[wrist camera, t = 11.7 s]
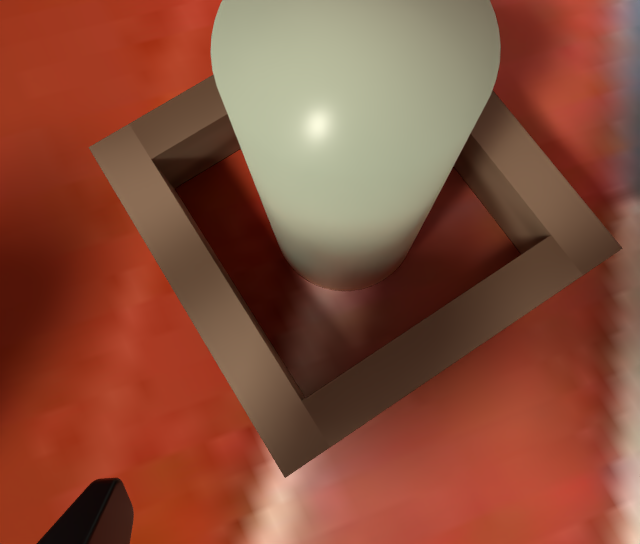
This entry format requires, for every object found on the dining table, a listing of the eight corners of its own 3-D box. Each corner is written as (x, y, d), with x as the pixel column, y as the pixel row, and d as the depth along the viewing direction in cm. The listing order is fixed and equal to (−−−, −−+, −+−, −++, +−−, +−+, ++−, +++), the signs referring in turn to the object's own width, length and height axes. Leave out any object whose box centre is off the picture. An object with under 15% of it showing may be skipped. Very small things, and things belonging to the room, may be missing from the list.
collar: (583, 267, 18) (622, 248, 16) (292, 465, 17) (285, 477, 15) (386, 19, 21) (393, -31, 18) (119, 177, 19) (88, 147, 17)
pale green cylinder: (436, 191, 19) (543, -20, 9) (379, 314, 18) (430, 225, 8) (312, 137, 20) (290, -114, 10) (250, 254, 19) (158, 104, 9)
